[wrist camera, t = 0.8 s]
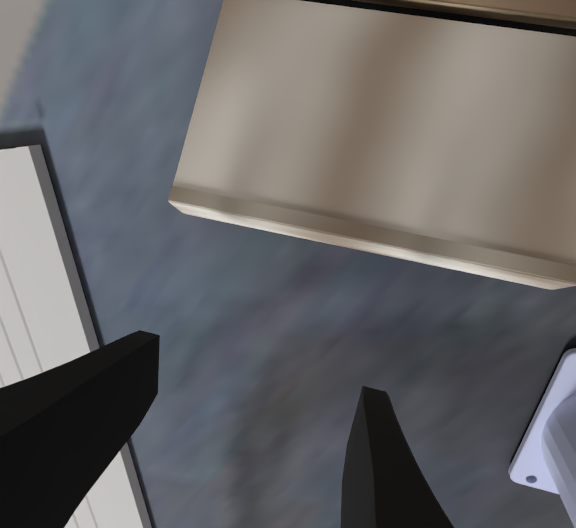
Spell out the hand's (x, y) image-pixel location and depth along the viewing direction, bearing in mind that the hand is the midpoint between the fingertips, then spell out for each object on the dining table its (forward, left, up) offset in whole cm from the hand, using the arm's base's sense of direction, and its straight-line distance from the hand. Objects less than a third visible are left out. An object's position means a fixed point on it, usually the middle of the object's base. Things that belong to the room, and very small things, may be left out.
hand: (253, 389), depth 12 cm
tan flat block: (-2, -6, -7) cm, 10 cm away
